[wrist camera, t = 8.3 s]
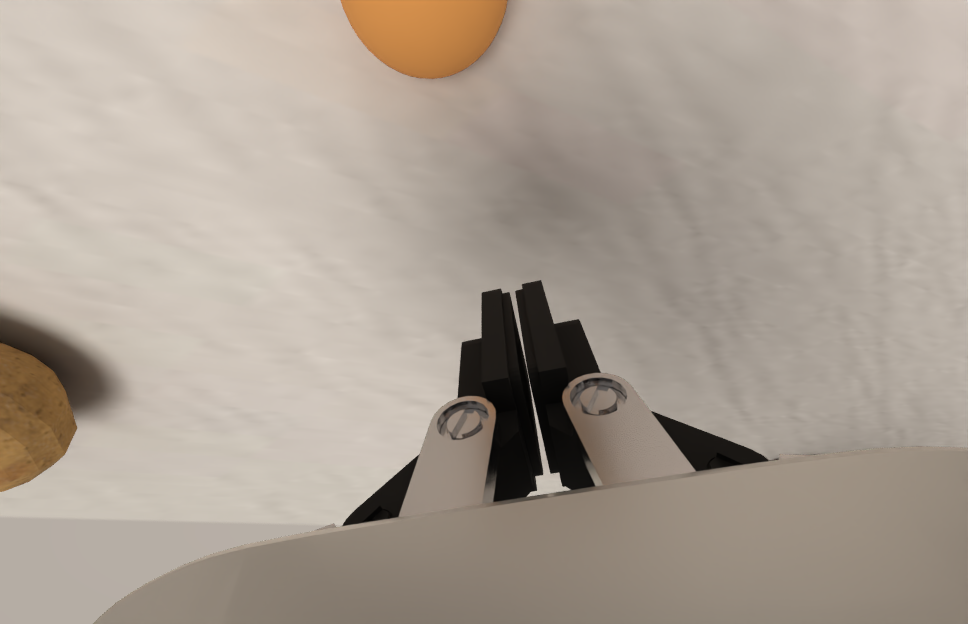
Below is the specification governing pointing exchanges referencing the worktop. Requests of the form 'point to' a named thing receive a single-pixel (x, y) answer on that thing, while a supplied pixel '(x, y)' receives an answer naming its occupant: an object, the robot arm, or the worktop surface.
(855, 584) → the robot arm
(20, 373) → the potato
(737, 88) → the worktop surface
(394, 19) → the brown egg
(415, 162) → the worktop surface
